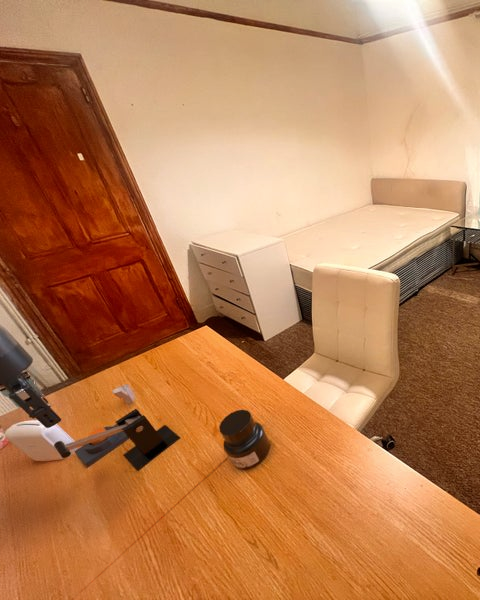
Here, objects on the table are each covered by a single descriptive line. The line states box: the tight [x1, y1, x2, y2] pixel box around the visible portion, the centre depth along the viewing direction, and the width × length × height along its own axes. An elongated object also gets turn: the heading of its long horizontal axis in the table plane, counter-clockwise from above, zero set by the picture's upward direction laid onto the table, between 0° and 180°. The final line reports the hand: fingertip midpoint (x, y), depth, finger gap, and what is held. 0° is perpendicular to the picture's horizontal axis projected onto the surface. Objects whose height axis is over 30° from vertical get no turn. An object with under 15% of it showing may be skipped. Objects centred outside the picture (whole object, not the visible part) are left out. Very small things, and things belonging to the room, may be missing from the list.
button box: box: [74, 423, 130, 468], centre depth 80 cm, size 10×7×4 cm
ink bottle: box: [218, 409, 271, 470], centre depth 74 cm, size 10×9×12 cm
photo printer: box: [4, 419, 79, 462], centre depth 77 cm, size 10×4×12 cm, turn 89°
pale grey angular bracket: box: [112, 384, 136, 405], centre depth 92 cm, size 7×2×8 cm, turn 35°
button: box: [87, 427, 107, 445], centre depth 79 cm, size 4×4×2 cm
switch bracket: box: [115, 408, 181, 472], centre depth 76 cm, size 10×8×12 cm
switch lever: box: [54, 416, 140, 459], centre depth 70 cm, size 14×5×2 cm, turn 149°
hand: (48, 414), depth 61 cm, fingers open, 8 cm apart
